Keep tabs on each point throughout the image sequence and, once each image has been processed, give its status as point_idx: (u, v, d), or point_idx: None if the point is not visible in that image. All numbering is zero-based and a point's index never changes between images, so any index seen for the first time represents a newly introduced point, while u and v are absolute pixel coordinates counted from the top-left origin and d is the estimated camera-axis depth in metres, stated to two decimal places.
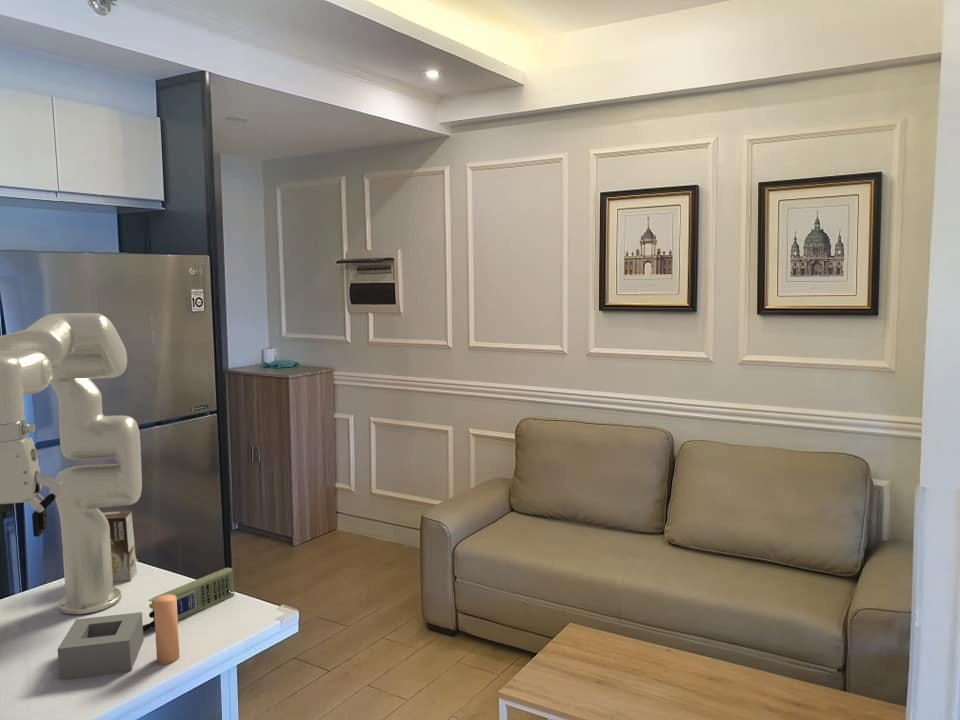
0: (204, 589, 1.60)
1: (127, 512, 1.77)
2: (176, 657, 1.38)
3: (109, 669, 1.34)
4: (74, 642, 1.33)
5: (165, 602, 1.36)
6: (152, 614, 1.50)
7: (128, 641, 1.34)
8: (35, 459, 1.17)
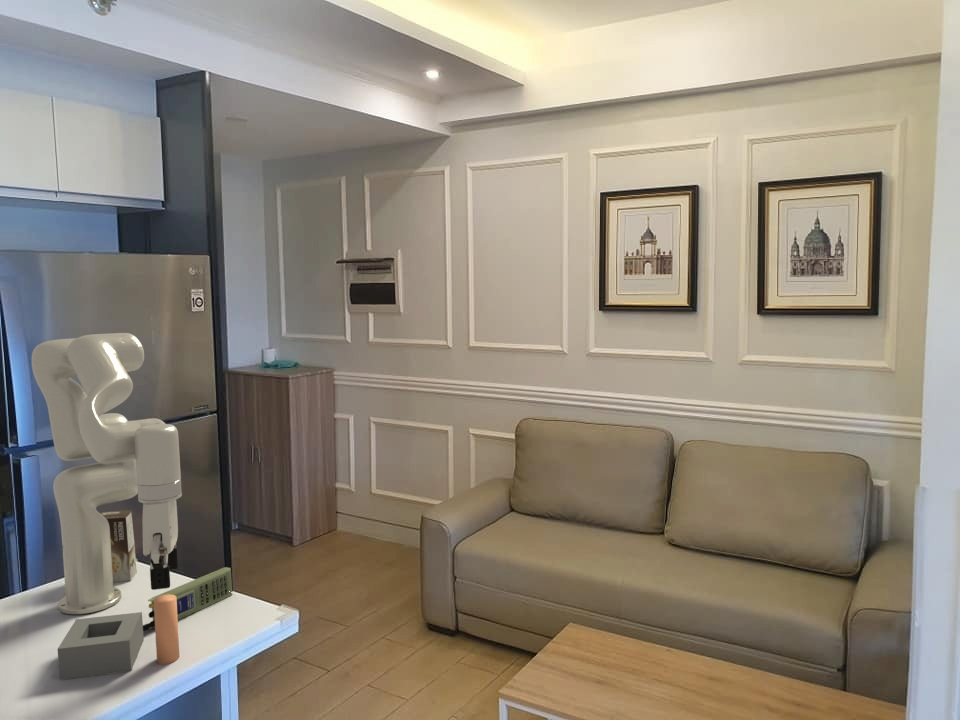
0: (202, 589, 1.60)
1: (127, 512, 1.77)
2: (176, 657, 1.38)
3: (109, 669, 1.34)
4: (74, 642, 1.33)
5: (165, 602, 1.36)
6: (151, 614, 1.50)
7: (128, 641, 1.34)
8: None
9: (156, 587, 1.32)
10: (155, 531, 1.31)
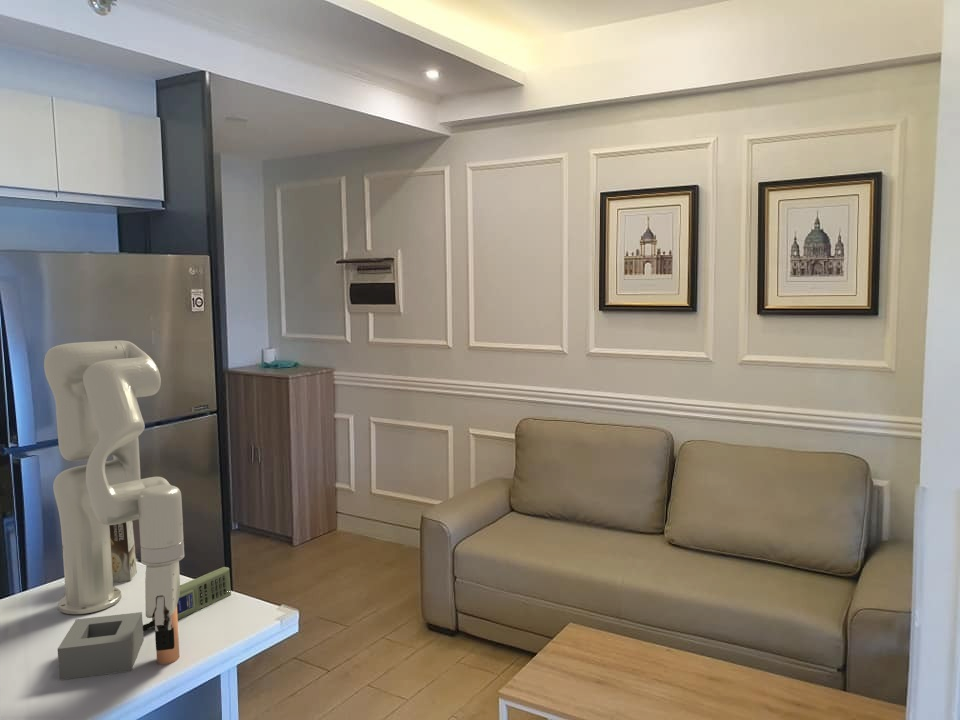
0: (201, 589, 1.60)
1: None
2: (176, 657, 1.38)
3: (109, 669, 1.34)
4: (74, 642, 1.33)
5: None
6: None
7: (128, 641, 1.34)
8: None
9: (161, 648, 1.36)
10: (158, 594, 1.33)
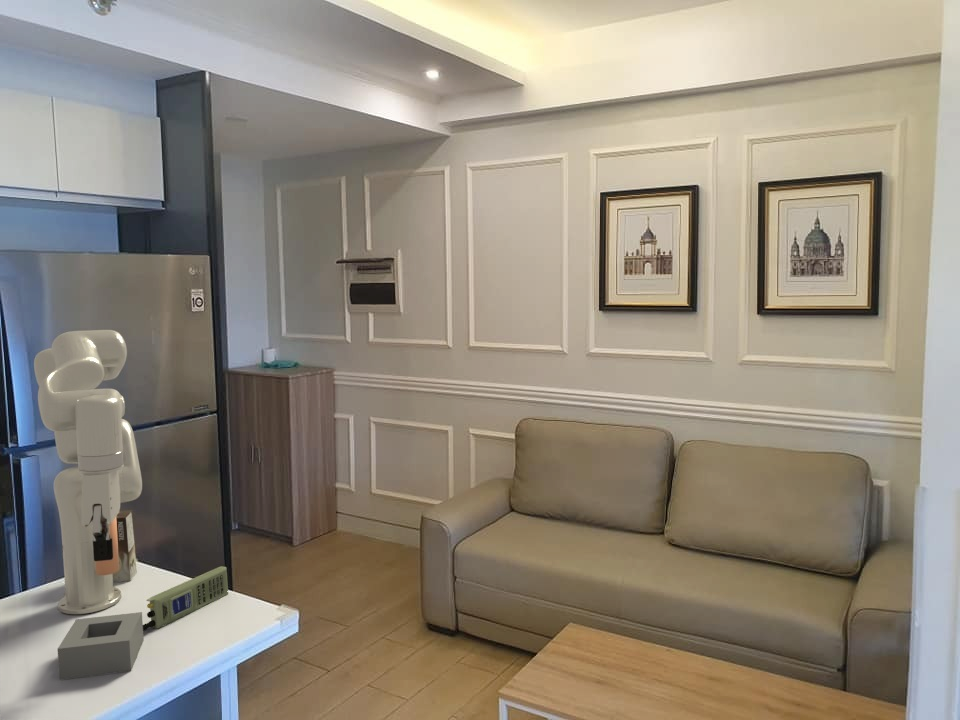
0: (199, 588, 1.60)
1: (127, 512, 1.77)
2: (115, 569, 1.37)
3: (109, 669, 1.34)
4: (74, 642, 1.33)
5: None
6: (150, 614, 1.50)
7: (128, 641, 1.34)
8: None
9: (99, 559, 1.34)
10: (95, 502, 1.31)
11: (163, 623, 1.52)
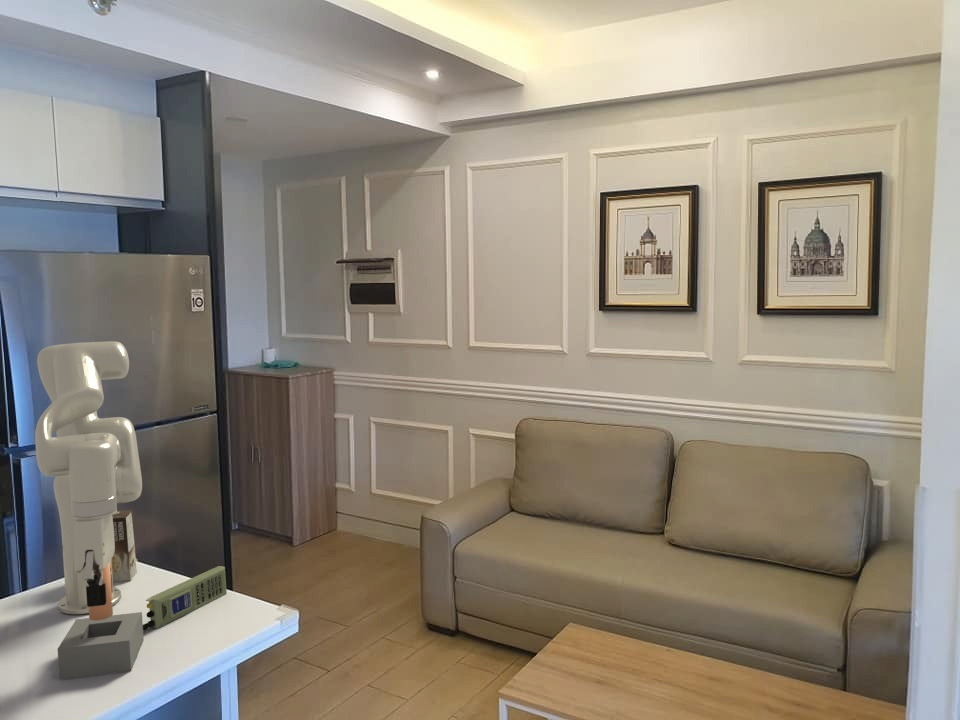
0: (198, 588, 1.61)
1: (127, 512, 1.77)
2: (109, 614, 1.37)
3: (109, 669, 1.34)
4: (74, 642, 1.33)
5: None
6: (150, 614, 1.50)
7: (128, 641, 1.34)
8: None
9: (92, 604, 1.35)
10: (87, 548, 1.31)
11: (162, 623, 1.52)
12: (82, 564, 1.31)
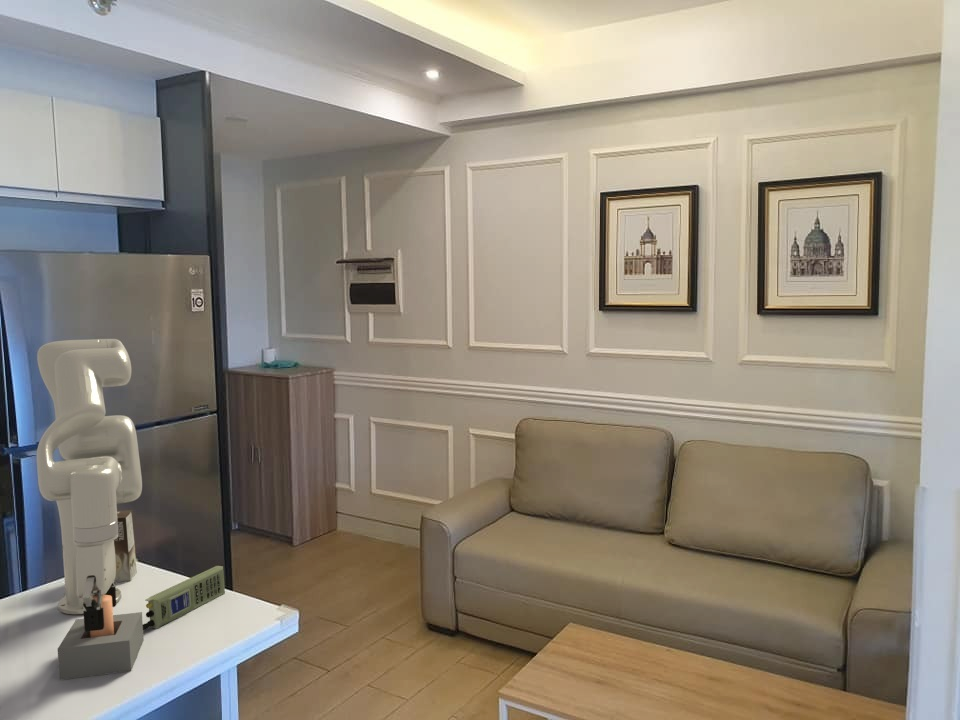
0: (197, 588, 1.61)
1: (127, 512, 1.77)
2: None
3: (109, 669, 1.34)
4: (74, 642, 1.33)
5: None
6: (149, 614, 1.50)
7: (128, 641, 1.34)
8: None
9: (90, 629, 1.33)
10: (89, 574, 1.32)
11: (162, 623, 1.52)
12: (84, 590, 1.32)
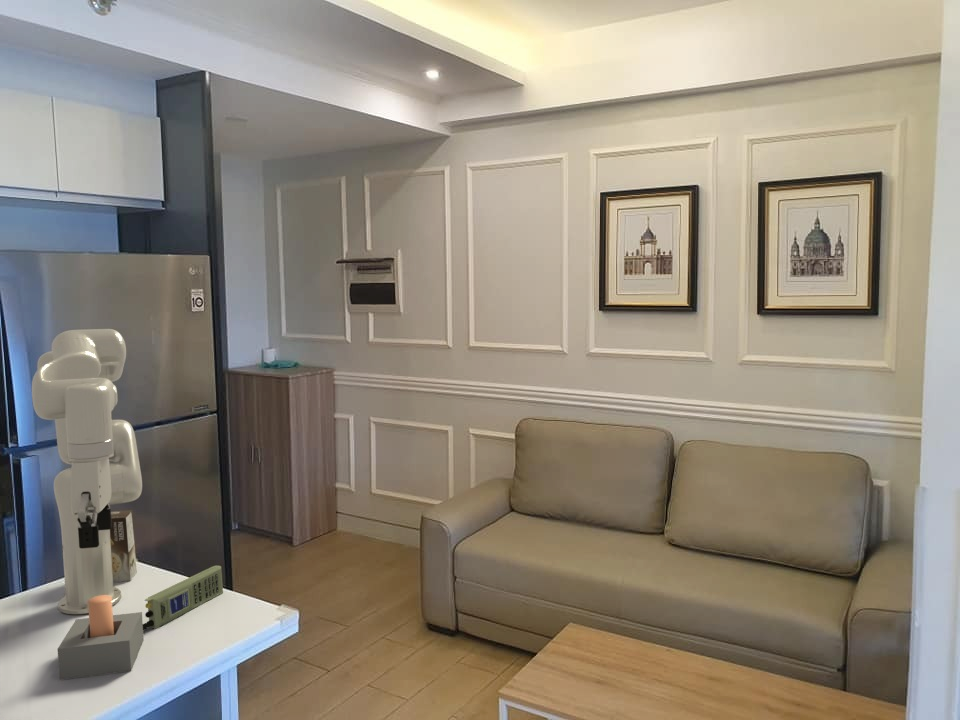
0: (196, 587, 1.61)
1: (127, 512, 1.77)
2: None
3: (109, 669, 1.34)
4: (74, 642, 1.33)
5: (99, 603, 1.36)
6: (149, 614, 1.51)
7: (128, 641, 1.34)
8: None
9: (84, 546, 1.31)
10: (83, 490, 1.30)
11: (161, 623, 1.52)
12: (78, 506, 1.30)
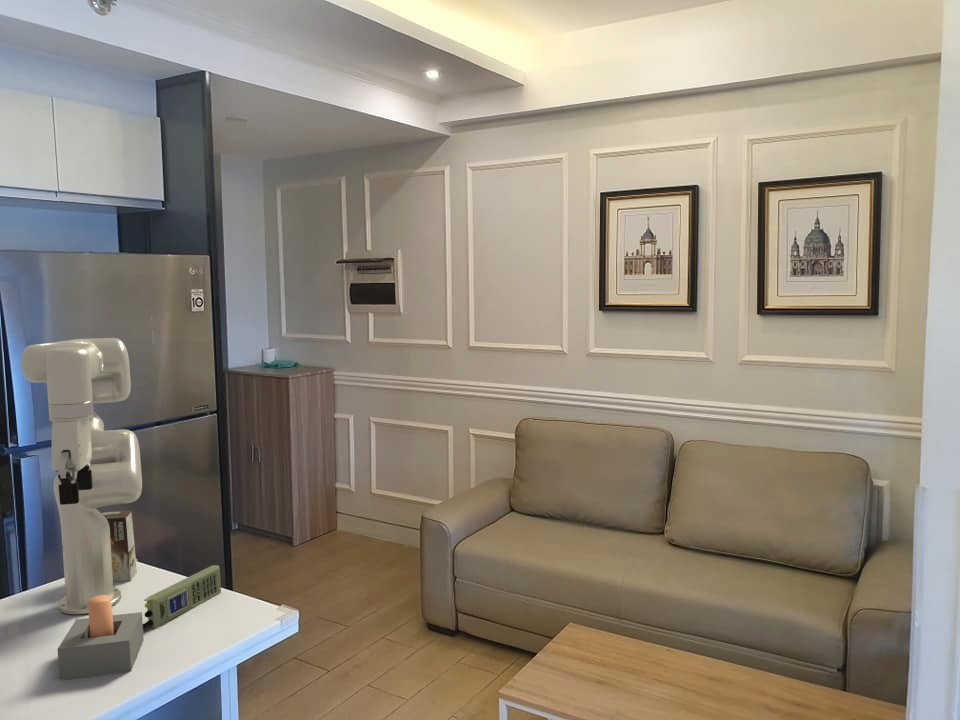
0: (194, 587, 1.61)
1: (127, 512, 1.77)
2: None
3: (109, 669, 1.34)
4: (74, 642, 1.33)
5: (99, 603, 1.36)
6: (148, 614, 1.51)
7: (128, 641, 1.34)
8: None
9: (65, 502, 1.37)
10: (64, 448, 1.36)
11: (161, 622, 1.52)
12: None
